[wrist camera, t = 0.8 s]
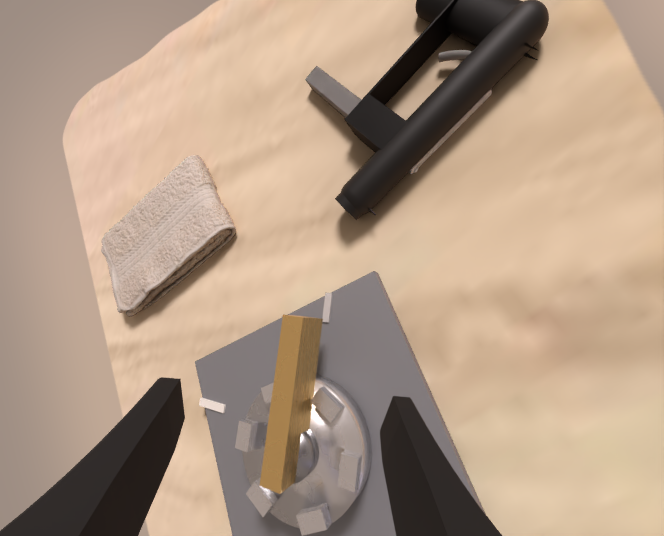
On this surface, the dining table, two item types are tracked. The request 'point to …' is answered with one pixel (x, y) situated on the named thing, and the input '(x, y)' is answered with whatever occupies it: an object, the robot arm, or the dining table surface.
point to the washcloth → (166, 236)
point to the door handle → (445, 102)
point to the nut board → (343, 368)
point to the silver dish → (304, 437)
